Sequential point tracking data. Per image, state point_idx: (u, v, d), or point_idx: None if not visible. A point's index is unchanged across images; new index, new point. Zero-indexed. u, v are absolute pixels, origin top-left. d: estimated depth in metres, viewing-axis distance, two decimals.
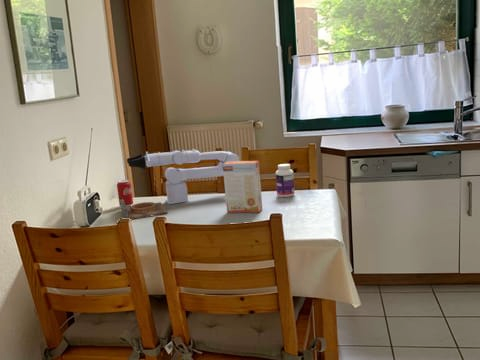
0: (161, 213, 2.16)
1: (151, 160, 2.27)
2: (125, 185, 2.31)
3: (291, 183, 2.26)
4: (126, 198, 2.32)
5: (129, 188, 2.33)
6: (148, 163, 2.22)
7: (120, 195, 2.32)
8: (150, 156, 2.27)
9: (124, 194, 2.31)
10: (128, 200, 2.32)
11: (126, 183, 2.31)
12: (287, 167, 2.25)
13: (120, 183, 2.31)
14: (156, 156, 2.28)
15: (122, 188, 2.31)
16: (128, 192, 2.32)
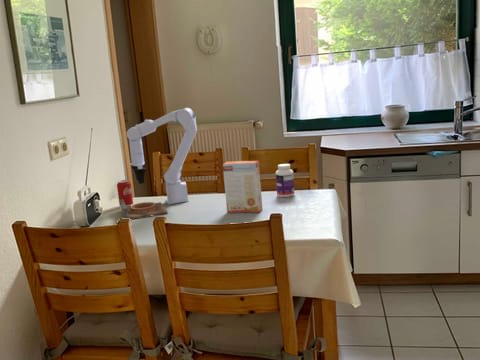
0: (161, 213, 2.16)
1: (137, 161, 2.31)
2: (125, 185, 2.31)
3: (291, 183, 2.26)
4: (126, 198, 2.32)
5: (129, 188, 2.33)
6: (140, 166, 2.27)
7: (120, 195, 2.32)
8: (133, 161, 2.31)
9: (124, 194, 2.31)
10: (128, 200, 2.32)
11: (126, 183, 2.31)
12: (287, 167, 2.25)
13: (120, 183, 2.31)
14: (133, 156, 2.31)
15: (122, 188, 2.31)
16: (128, 192, 2.32)
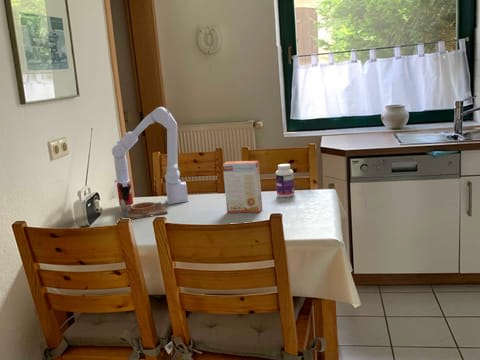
0: (161, 213, 2.16)
1: (122, 178, 2.30)
2: None
3: (291, 183, 2.26)
4: None
5: None
6: (125, 184, 2.27)
7: (120, 195, 2.32)
8: (118, 179, 2.31)
9: None
10: None
11: None
12: (287, 167, 2.25)
13: (120, 183, 2.31)
14: (118, 173, 2.30)
15: None
16: None
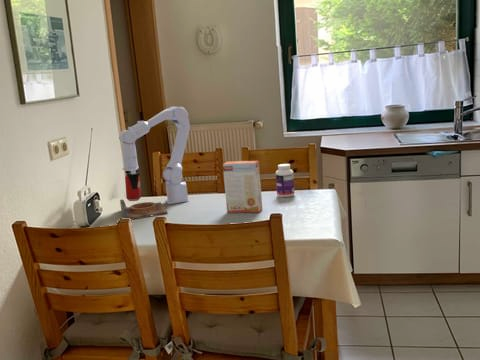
0: (161, 213, 2.16)
1: (131, 165, 2.21)
2: None
3: (291, 183, 2.26)
4: (133, 191, 2.23)
5: (138, 182, 2.23)
6: (133, 171, 2.17)
7: (128, 188, 2.23)
8: (127, 166, 2.21)
9: None
10: (135, 193, 2.23)
11: None
12: (287, 167, 2.25)
13: None
14: (126, 160, 2.20)
15: None
16: None
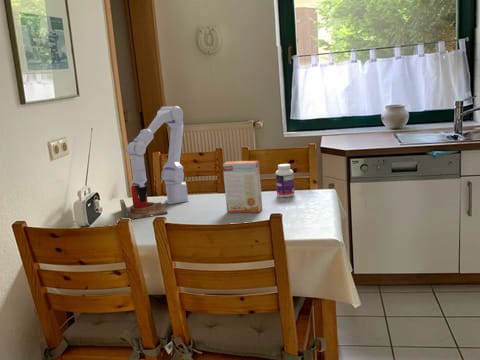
0: (161, 213, 2.16)
1: (139, 178, 2.17)
2: None
3: (291, 183, 2.26)
4: (140, 201, 2.18)
5: None
6: (142, 184, 2.13)
7: (134, 199, 2.18)
8: (135, 179, 2.17)
9: (139, 198, 2.18)
10: (142, 203, 2.19)
11: None
12: (287, 167, 2.25)
13: (134, 186, 2.17)
14: (135, 173, 2.16)
15: (136, 191, 2.17)
16: None
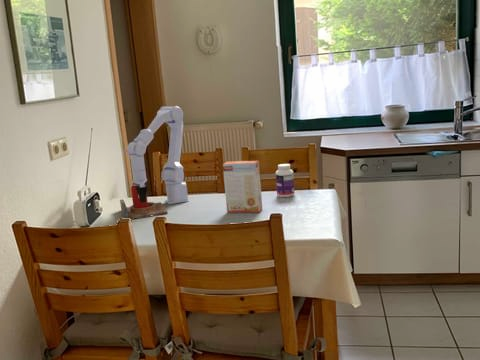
0: (161, 213, 2.16)
1: (139, 178, 2.16)
2: None
3: (291, 183, 2.26)
4: (140, 201, 2.18)
5: None
6: (142, 184, 2.13)
7: (134, 199, 2.18)
8: (135, 179, 2.17)
9: (138, 198, 2.18)
10: (142, 203, 2.19)
11: None
12: (287, 167, 2.25)
13: (134, 186, 2.17)
14: (135, 173, 2.16)
15: (136, 191, 2.17)
16: None
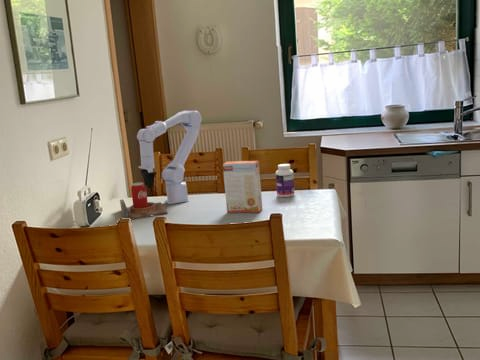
0: (161, 213, 2.16)
1: (147, 164, 2.22)
2: (140, 188, 2.17)
3: (291, 183, 2.26)
4: (140, 201, 2.18)
5: (144, 191, 2.19)
6: (150, 170, 2.18)
7: (134, 199, 2.18)
8: (143, 164, 2.22)
9: (138, 198, 2.18)
10: (142, 203, 2.19)
11: (141, 186, 2.18)
12: (287, 167, 2.25)
13: (134, 186, 2.17)
14: (143, 158, 2.21)
15: (136, 191, 2.17)
16: (143, 195, 2.18)
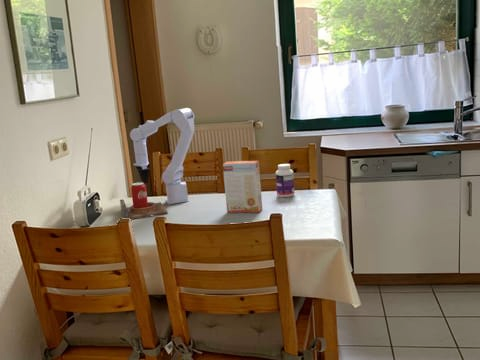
0: (161, 213, 2.16)
1: (142, 161, 2.35)
2: (140, 188, 2.17)
3: (291, 183, 2.26)
4: (140, 201, 2.18)
5: (144, 191, 2.19)
6: (144, 166, 2.32)
7: (134, 199, 2.18)
8: (138, 162, 2.36)
9: (138, 198, 2.18)
10: (142, 203, 2.19)
11: (141, 186, 2.18)
12: (287, 167, 2.25)
13: (134, 186, 2.17)
14: (138, 156, 2.35)
15: (136, 191, 2.17)
16: (143, 195, 2.18)
